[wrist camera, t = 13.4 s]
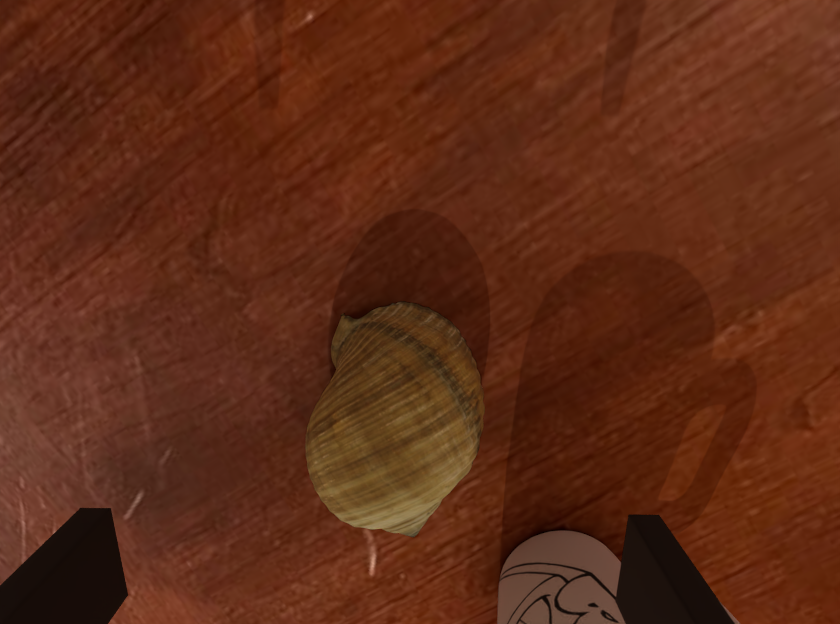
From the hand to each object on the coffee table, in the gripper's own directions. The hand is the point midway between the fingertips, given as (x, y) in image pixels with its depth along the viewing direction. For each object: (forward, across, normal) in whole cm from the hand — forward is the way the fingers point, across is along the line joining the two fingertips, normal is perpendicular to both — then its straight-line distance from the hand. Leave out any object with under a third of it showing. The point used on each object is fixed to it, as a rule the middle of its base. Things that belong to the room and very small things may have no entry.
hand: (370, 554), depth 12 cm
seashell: (+10, 0, 0) cm, 10 cm away
